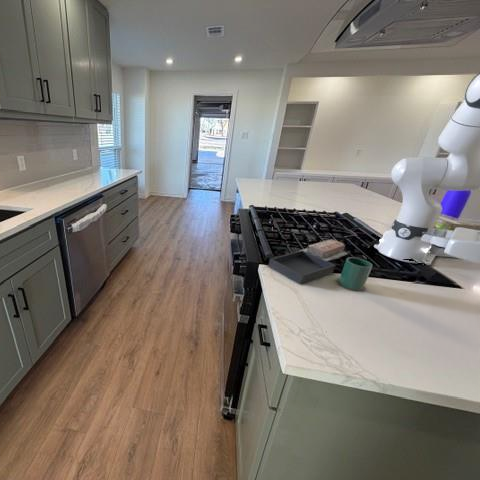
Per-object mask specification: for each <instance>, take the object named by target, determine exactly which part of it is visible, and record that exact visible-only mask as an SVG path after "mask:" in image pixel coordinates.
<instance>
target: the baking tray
mask: <svg viewBox="0 0 480 480" xmlns="http://www.w3.org/2000/svg"><path fill="white" fill-rule="evenodd" d="M300 250H301V251H300ZM300 250H298V251H294V252H290V253H286V254H283V255H280V256H275V257H272V258H269V261H268V267H269V268H271V269H273V270H275V271H276V272H278V273H280V274H281V275H284V276H285V277H287V278H289V279H291V280H293V281H294V282H296V283H298V284H300V285H302V284H304V283H307V282H310V281H313V280H315V279H319V278H321V277H324V276H326V275H330V274H333V273H334V272H335V269H336V264H334V263H332V262H330V261H325V260H323V259H321V258H319V257H316V256H314V255H312V254H309V253H307V252H305V251H303V250H302V249H300ZM286 259H287V260H286ZM283 260H284V261H283Z"/></svg>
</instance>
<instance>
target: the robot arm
mask: <svg viewBox="0 0 480 480" xmlns="http://www.w3.org/2000/svg"><path fill="white" fill-rule="evenodd" d="M437 143H438V144H437V145H438V146H439V147H440V148H441V149H442V150H443V151H444V152H447V153H449V154H448V156H446V157H436V156H435V157H433V156H432V157H431V156H412V157H404V158H402V159H400V160H398V161H397V162H396V163H395V164H394V165H393V166H392V168H391V172H390V178H391V181H392V182H393V183H394V184H395V185H396V186H397V187H398V188H399V190H400V192H401V196H402V202H401V206H400V209H399V212H398V215H397V217H396V219H394V221H393V222H392V226H391V229H387V230H385V232H384V233H383V235H382V238H380V239H379V243H375V244H374V245H373V247H374V248H375V249H376V250H377V251H378V253H380V254H382V255H383V256H386V257H388V258H390V259H392V260H393V259H394V260H396V261H400V262H404V263H410V264H418V263H417V262H415V261H409V260H403V259H411V258H414V259H418V260H421V261H423V262H424V263H425V264H426V265H425V266H431V265H432V263H433V261H434V260H435V258H436V257H437V256H436V255H435V254H433V253H431V252H430V249H431V247H432V245H433V244H434V245H437V246H440V247H445V250H444V253H446V254H448V255H451V256H454V257H453V258H455V257H457V259H460V260H465V261H468V262H471V263H476V264H479V265H480V230H478V229H476V230H473V229H468V228H461V227H457V228H455V230H454V231H452V230H443V229H435V228H436V226H435V224H436V222H437V220H438V218H439V216H440V214H441V212H442V206H441V202H439V201H437V200H436V199H434V198H432V197H431V196H430V191H431V190H440V191H441V190H442V191H448V190H451V191H464V190H471V191H476V190H478V189H480V72H478V73H477V74H476V75H475V76H474V77H473V78H472V79H471V80H470V82H469V83H468V85H467V87H466V90H465V93H464V99H463V101H462V102H461V103H460V104H459V106H458V107H457V108H456V110H455V111H454V113H453V114H452V115H451V117H450V119H449V120H448V122H447V123H446V125H445V127H444V128H443V129H442V131H441V133H440V134H439V136H438V138H437ZM437 236H439V237H437ZM442 237H443V238H442Z"/></svg>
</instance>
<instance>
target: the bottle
mask: <svg viewBox="0 0 480 480" xmlns="http://www.w3.org/2000/svg"><path fill="white" fill-rule="evenodd" d="M471 194H472V190H464V191H451V190H446V192H445V194H444V195H443V197H442V199H441V202H440V204H441V206H442V212H441V214H444V215H447V216H450V217H453V218H456V219H459V218H460V216H461V214H462V212H463V211H464V209H465V207H466V205H467V203H468V201H469V198H470V197H471Z"/></svg>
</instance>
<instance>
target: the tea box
mask: <svg viewBox="0 0 480 480" xmlns="http://www.w3.org/2000/svg"><path fill="white" fill-rule="evenodd" d="M435 226H436V228H435V229H443V230H452V231H454V230H455V228H457V227H461V228H468V229H473V230H478V227H479V225H477V224H474V223H471V222H469V221H465V220H461V219H459V218H458V219H456V218H453V217H450V216H447V215H444V214H440V216H439V218H438V220H437V222H436V224H435ZM437 237H439V236H437ZM442 238H443V237H442ZM444 250H445V247H440V246H437V245H434V244H433V245H432V247H431V249H430V252H431V253H433V254H435V255H436V256H435V257H443V258H457V257H454V256H451V255H448V254H446V253H444ZM457 259H458V258H457Z"/></svg>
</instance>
